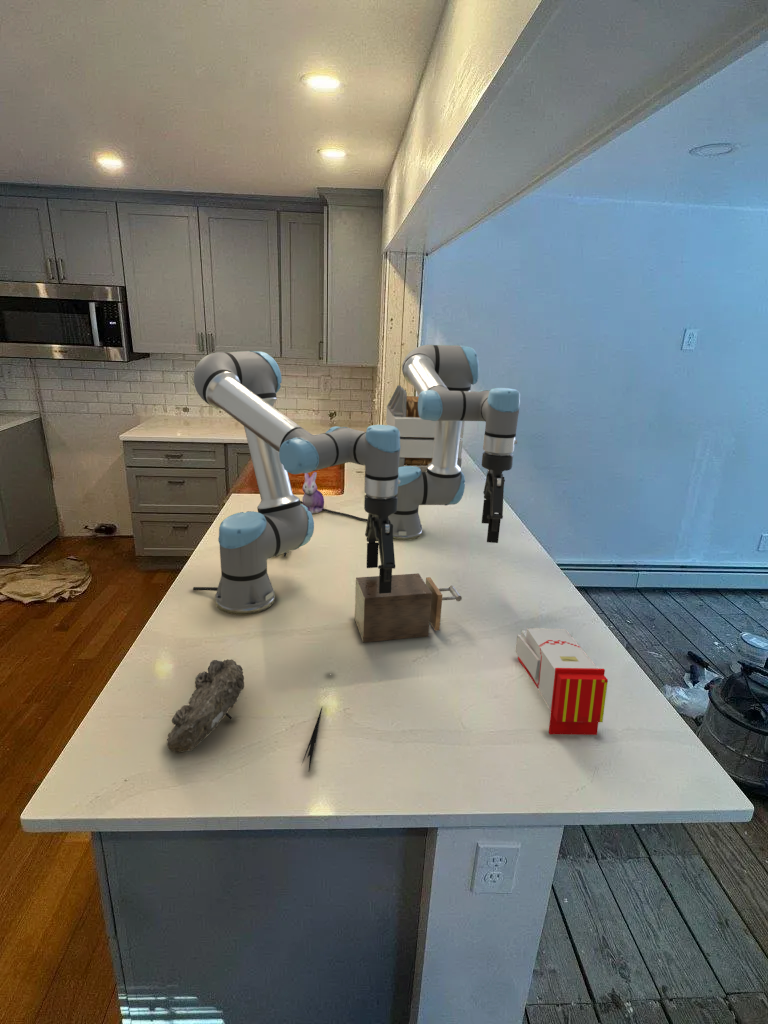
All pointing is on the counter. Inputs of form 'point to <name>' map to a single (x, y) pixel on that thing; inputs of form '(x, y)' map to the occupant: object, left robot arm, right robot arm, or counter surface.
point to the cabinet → (392, 608)
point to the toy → (564, 680)
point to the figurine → (312, 494)
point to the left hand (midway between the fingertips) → (378, 579)
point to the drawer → (439, 601)
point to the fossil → (206, 705)
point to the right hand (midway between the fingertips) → (489, 532)
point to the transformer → (413, 430)
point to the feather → (313, 740)
